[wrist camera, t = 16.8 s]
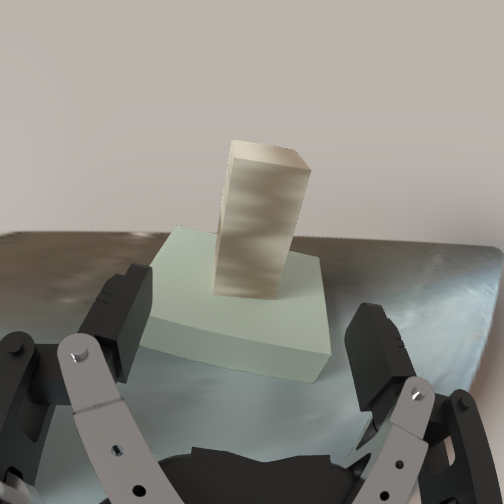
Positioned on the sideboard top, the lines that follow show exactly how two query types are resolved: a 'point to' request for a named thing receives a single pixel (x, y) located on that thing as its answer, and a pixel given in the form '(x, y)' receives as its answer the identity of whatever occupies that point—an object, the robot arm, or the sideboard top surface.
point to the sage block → (237, 314)
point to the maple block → (257, 218)
